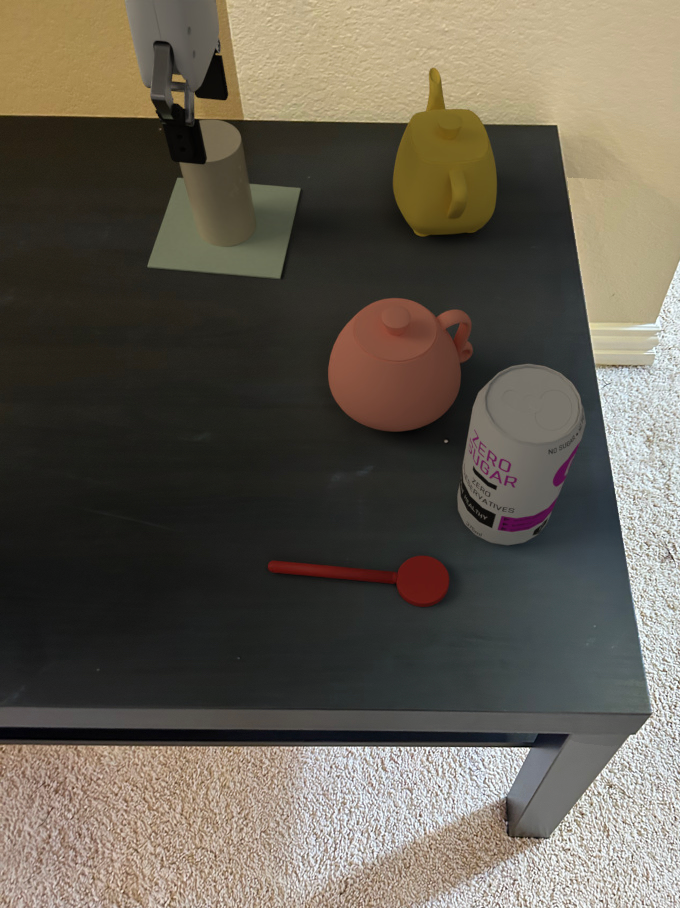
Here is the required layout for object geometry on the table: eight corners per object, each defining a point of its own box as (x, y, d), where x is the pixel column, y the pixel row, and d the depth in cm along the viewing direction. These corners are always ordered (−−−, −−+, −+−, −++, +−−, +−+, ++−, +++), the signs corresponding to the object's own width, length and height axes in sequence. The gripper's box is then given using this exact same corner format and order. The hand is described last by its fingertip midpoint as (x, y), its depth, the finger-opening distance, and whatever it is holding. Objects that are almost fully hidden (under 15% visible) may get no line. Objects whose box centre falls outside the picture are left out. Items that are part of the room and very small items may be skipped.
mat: (147, 267, 79) (146, 266, 78) (178, 179, 85) (177, 177, 85) (280, 279, 78) (280, 277, 78) (300, 189, 85) (300, 187, 85)
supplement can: (558, 483, 68) (601, 375, 54) (535, 561, 64) (575, 465, 51) (472, 457, 69) (493, 345, 56) (444, 532, 65) (461, 431, 52)
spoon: (264, 592, 62) (262, 587, 61) (273, 545, 64) (271, 540, 63) (446, 609, 62) (447, 605, 61) (450, 561, 64) (451, 556, 63)
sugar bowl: (312, 363, 73) (303, 283, 64) (444, 325, 76) (452, 243, 67) (356, 462, 68) (352, 390, 59) (495, 417, 71) (512, 342, 62)
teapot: (382, 158, 88) (382, 64, 78) (475, 152, 89) (486, 58, 79) (403, 269, 80) (406, 179, 70) (505, 260, 80) (522, 171, 71)
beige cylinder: (191, 244, 80) (167, 158, 71) (203, 203, 83) (182, 116, 74) (250, 249, 80) (234, 164, 71) (261, 208, 83) (246, 122, 74)
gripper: (136, -146, 60) (182, 72, 75) (71, -36, 52) (138, 184, 67) (229, -138, 60) (257, 79, 75) (179, -26, 52) (222, 192, 67)
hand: (201, 128), depth 71 cm, fingers open, 9 cm apart
